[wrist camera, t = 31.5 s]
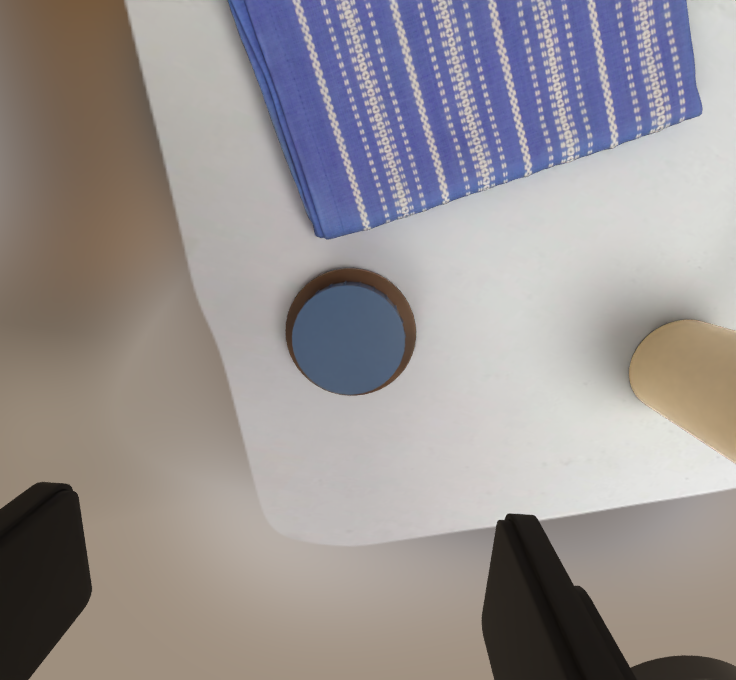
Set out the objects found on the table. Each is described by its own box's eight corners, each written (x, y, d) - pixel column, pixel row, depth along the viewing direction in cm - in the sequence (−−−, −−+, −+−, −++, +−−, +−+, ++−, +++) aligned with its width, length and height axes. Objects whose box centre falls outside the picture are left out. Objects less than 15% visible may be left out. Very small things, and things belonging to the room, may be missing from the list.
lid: (297, 277, 27) (291, 280, 25) (409, 284, 27) (411, 288, 25) (295, 381, 29) (290, 391, 27) (399, 388, 29) (400, 399, 27)
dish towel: (215, -49, 23) (193, -86, 20) (644, -234, 21) (684, -305, 18) (318, 247, 27) (311, 249, 24) (687, 123, 25) (725, 109, 22)
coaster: (410, 396, 30) (410, 399, 29) (286, 388, 30) (284, 391, 29) (420, 271, 27) (421, 272, 27) (287, 264, 28) (285, 264, 27)
